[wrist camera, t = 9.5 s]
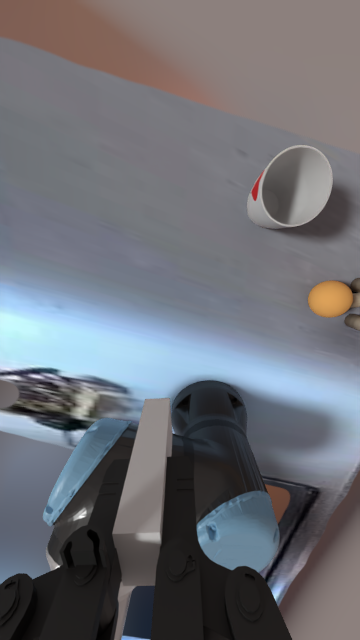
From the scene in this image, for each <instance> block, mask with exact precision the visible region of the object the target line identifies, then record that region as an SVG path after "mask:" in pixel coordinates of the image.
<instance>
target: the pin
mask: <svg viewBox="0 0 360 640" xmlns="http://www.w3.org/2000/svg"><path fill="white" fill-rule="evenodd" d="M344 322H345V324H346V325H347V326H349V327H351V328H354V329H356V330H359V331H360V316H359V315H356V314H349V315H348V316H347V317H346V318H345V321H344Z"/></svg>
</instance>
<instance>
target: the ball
mask: <svg viewBox="0 0 360 640" xmlns="http://www.w3.org/2000/svg"><path fill="white" fill-rule="evenodd" d="M352 302H353V294H352V291H351V290H350V288H349V287H348V286H347V285H345V284H344V283H342V282H339V281H325V282H322V283H319V284H318V285H316V286H315V287H314V288H313V289H312V290H311V292H310V293H309V296H308V304H309V307H310V308H311V310H312V311H313V312H314V313H316V314H317V315H319V316H322V317H337V316H340V315H342V314H344V313H345V312H346V311H347V310H348V309H349V308H350V307H351V305H352Z"/></svg>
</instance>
